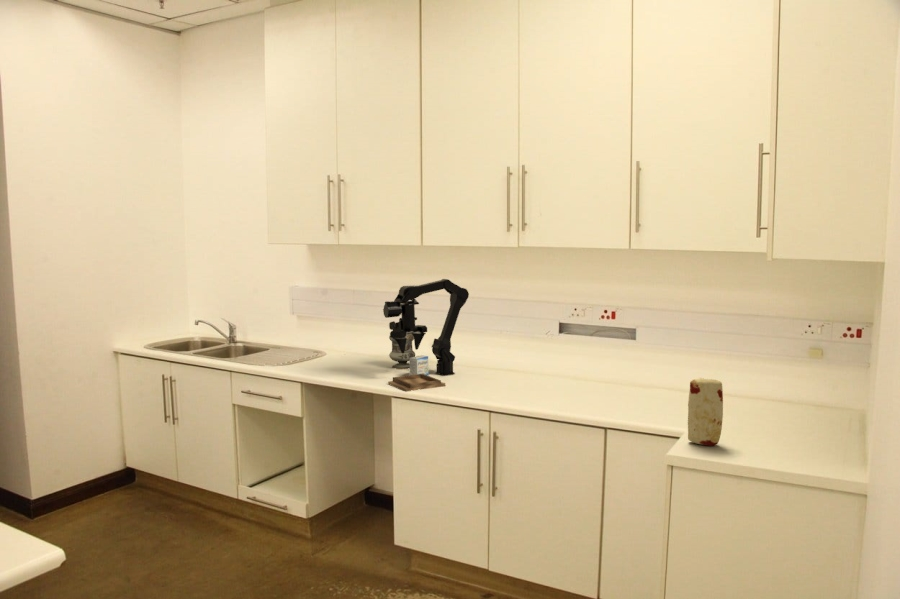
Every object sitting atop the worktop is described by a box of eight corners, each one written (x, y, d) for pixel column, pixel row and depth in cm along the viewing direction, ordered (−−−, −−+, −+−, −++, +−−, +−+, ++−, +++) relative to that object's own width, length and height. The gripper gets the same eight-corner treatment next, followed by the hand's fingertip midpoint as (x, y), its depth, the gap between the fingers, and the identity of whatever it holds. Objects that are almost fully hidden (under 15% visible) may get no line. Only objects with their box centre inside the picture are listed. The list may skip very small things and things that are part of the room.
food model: (685, 445, 208) (687, 378, 206) (688, 439, 214) (690, 374, 212) (720, 449, 204) (723, 381, 202) (723, 443, 210) (725, 377, 208)
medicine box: (417, 378, 303) (417, 358, 302) (409, 377, 305) (409, 357, 304) (428, 375, 309) (428, 355, 308) (421, 374, 311) (420, 354, 311)
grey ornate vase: (403, 363, 336) (402, 326, 334) (420, 366, 327) (420, 328, 326) (384, 367, 327) (383, 329, 325) (401, 370, 319) (400, 331, 317)
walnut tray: (426, 378, 301) (426, 373, 301) (445, 385, 288) (445, 379, 287) (388, 383, 292) (388, 377, 292) (406, 391, 279) (405, 385, 278)
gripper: (407, 311, 313) (409, 346, 315) (379, 317, 298) (381, 353, 300) (427, 312, 307) (428, 348, 308) (399, 318, 292) (401, 355, 294)
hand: (409, 351), depth 303 cm, fingers open, 9 cm apart
